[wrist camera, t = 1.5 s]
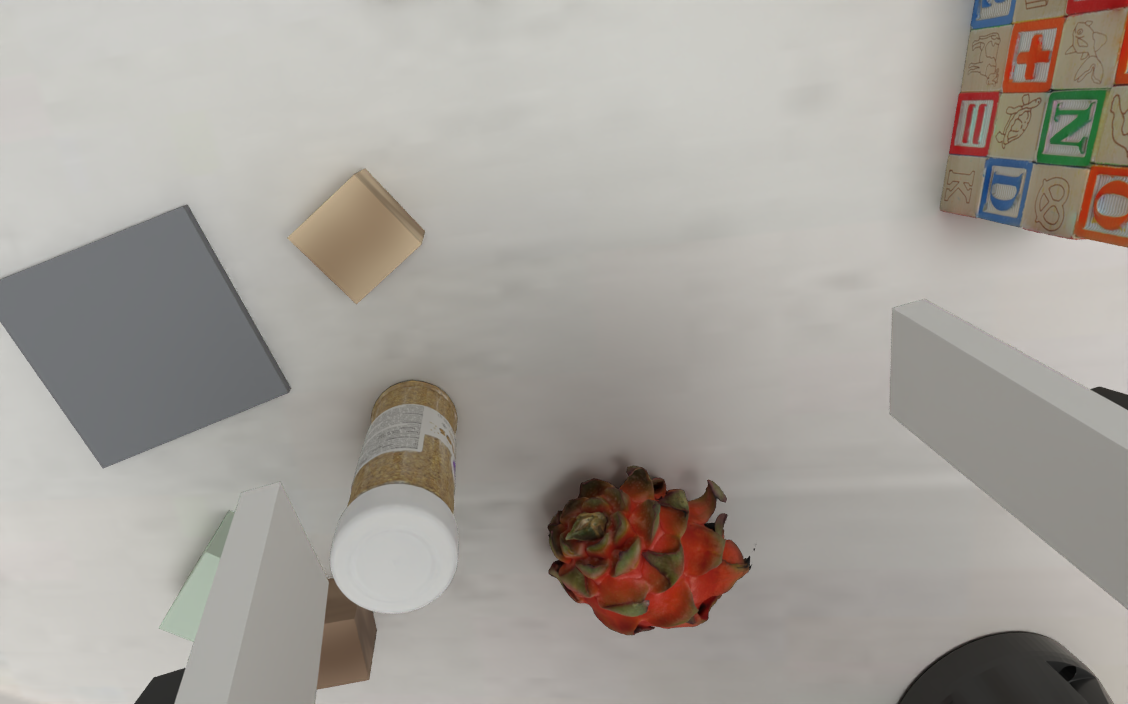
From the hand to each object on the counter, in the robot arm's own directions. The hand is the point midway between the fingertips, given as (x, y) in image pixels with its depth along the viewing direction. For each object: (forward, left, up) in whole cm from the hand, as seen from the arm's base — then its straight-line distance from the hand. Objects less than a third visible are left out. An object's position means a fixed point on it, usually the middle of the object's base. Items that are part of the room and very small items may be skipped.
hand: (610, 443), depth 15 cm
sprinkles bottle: (-6, +8, -23) cm, 25 cm away
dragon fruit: (-17, -1, -23) cm, 28 cm away
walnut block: (-15, +17, -23) cm, 32 cm away
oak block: (+4, +6, -23) cm, 24 cm away
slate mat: (+3, +18, -22) cm, 29 cm away
